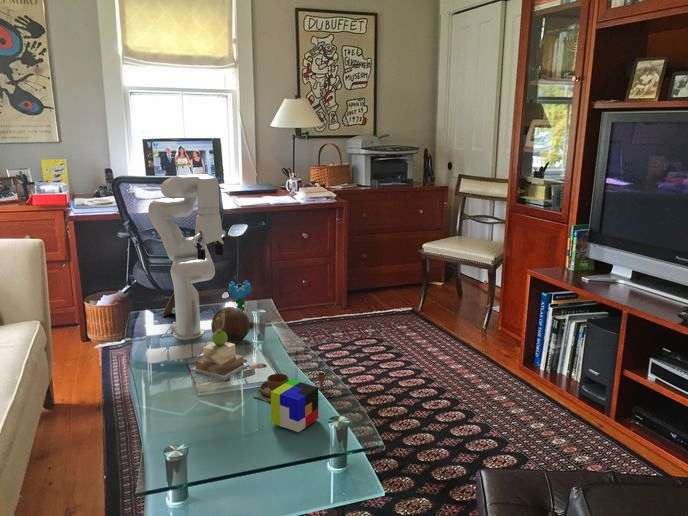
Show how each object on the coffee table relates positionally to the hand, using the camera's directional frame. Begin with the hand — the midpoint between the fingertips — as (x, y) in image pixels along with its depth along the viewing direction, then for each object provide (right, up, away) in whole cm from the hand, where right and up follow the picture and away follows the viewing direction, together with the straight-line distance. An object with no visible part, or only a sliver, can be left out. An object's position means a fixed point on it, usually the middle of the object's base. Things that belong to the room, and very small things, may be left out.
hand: (210, 257), depth 213 cm
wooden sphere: (+4, -35, +21) cm, 41 cm away
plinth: (+4, -39, -4) cm, 40 cm away
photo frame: (-26, -27, +53) cm, 65 cm away
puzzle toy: (+34, -49, -40) cm, 72 cm away
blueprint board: (+4, -40, -4) cm, 41 cm away
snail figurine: (+5, -32, -5) cm, 32 cm away
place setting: (+31, -45, -21) cm, 59 cm away
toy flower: (+3, -29, +47) cm, 55 cm away
